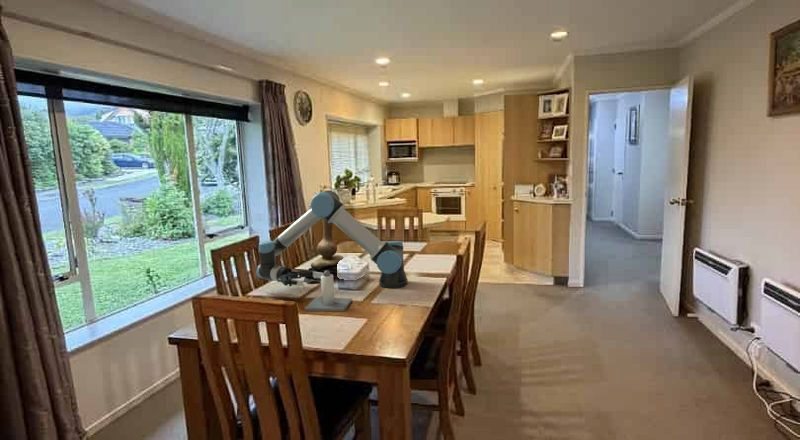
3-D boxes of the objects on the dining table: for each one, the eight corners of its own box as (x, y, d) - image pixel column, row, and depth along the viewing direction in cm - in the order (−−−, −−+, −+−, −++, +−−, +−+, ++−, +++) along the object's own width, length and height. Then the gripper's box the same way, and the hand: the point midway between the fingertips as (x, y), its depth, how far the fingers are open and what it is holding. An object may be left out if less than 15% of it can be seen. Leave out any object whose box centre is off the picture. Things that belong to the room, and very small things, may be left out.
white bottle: (336, 301, 198) (334, 269, 196) (332, 305, 192) (330, 272, 190) (324, 301, 198) (322, 269, 196) (320, 305, 193) (318, 272, 191)
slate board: (351, 300, 201) (351, 298, 201) (344, 311, 187) (343, 308, 187) (315, 300, 204) (315, 298, 203) (304, 310, 190) (304, 308, 190)
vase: (341, 282, 232) (338, 219, 227) (301, 284, 232) (296, 220, 227) (347, 271, 255) (344, 213, 250) (310, 272, 255) (306, 215, 250)
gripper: (300, 275, 221) (331, 280, 209) (262, 288, 200) (294, 294, 189) (299, 261, 220) (330, 265, 208) (260, 273, 199) (292, 278, 188)
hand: (313, 279), depth 199 cm, fingers open, 13 cm apart
